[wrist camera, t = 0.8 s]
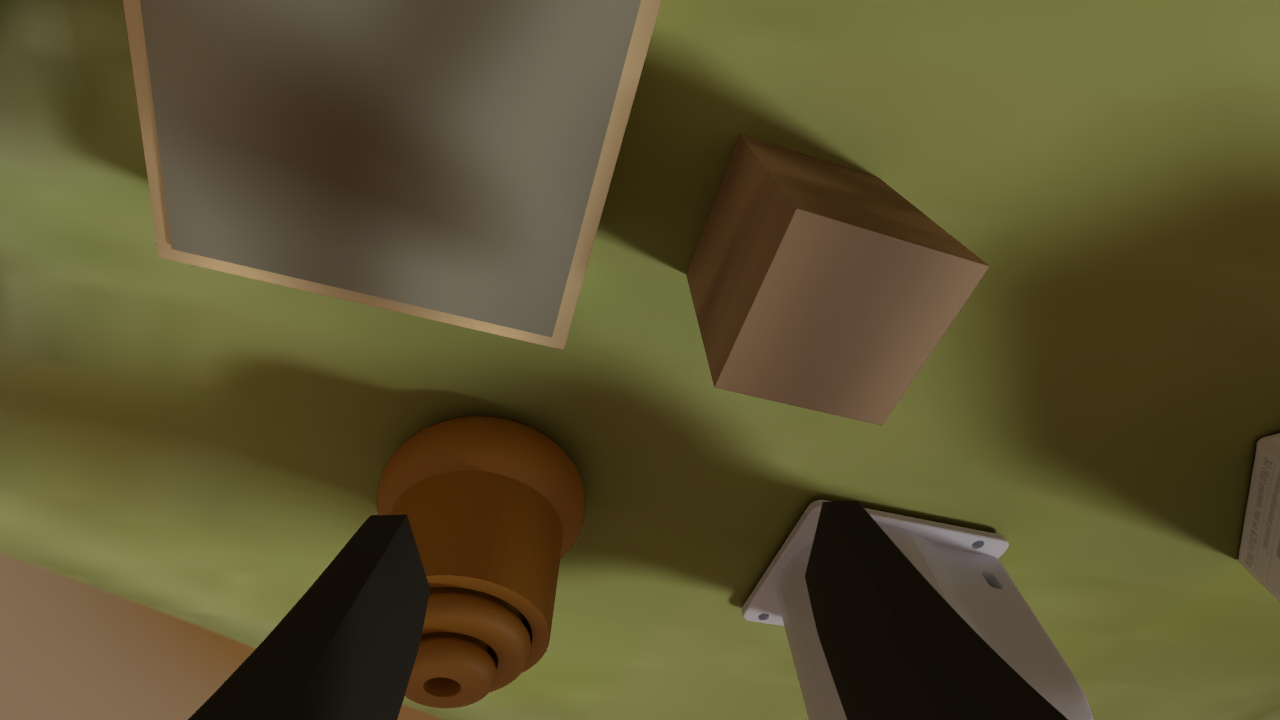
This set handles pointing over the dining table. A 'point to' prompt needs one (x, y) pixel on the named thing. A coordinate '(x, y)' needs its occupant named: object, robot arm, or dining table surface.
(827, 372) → the walnut block
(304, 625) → the robot arm
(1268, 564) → the supplement box
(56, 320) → the dining table surface
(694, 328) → the dining table surface
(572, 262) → the wooden framed grey panel
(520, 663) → the ornamental finial
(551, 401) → the dining table surface
